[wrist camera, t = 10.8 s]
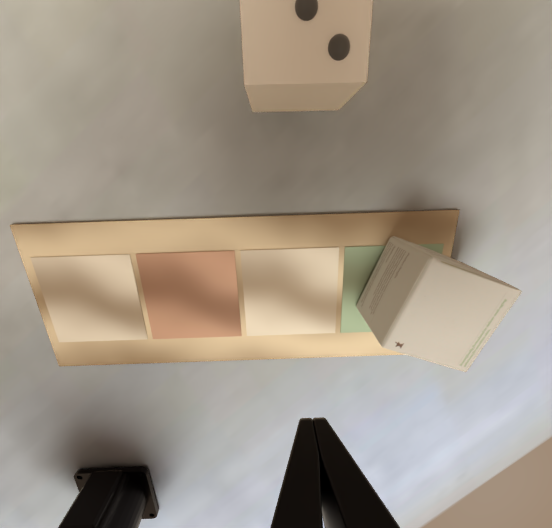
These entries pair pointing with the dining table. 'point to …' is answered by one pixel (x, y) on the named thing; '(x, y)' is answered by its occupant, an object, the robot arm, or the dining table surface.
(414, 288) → the small box
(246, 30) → the die
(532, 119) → the dining table surface
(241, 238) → the game board
